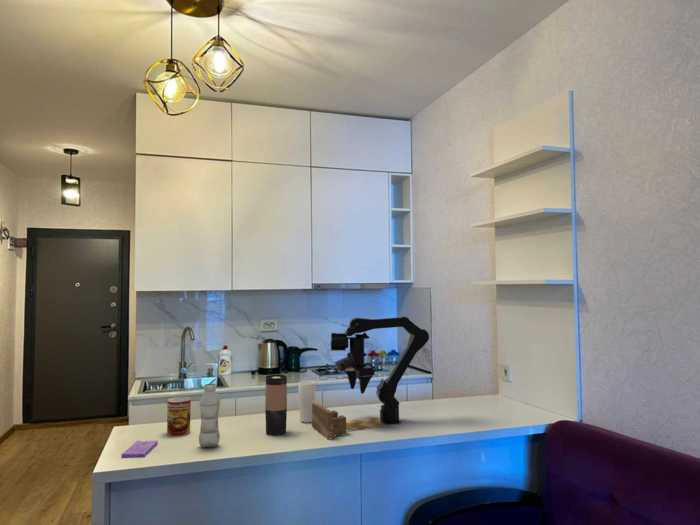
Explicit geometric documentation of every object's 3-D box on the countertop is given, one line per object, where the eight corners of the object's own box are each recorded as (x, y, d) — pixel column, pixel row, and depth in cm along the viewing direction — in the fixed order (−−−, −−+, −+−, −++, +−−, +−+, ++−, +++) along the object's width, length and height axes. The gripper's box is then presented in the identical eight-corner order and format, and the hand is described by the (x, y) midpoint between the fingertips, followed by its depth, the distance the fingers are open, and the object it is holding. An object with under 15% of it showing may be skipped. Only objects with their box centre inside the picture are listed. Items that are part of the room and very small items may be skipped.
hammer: (375, 423, 189) (374, 410, 189) (382, 428, 183) (382, 414, 183) (327, 429, 181) (327, 415, 181) (334, 434, 175) (334, 420, 175)
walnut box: (332, 425, 187) (332, 400, 187) (349, 436, 172) (348, 410, 173) (312, 427, 184) (312, 402, 184) (327, 439, 169) (327, 412, 170)
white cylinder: (313, 424, 188) (313, 384, 189) (296, 423, 190) (296, 383, 191) (317, 419, 195) (317, 381, 196) (301, 418, 196) (301, 380, 197)
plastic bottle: (200, 443, 165) (201, 383, 166) (221, 443, 166) (222, 382, 167) (196, 449, 159) (197, 386, 160) (218, 449, 159) (218, 386, 160)
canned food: (166, 437, 173) (166, 402, 173) (168, 431, 180) (168, 397, 181) (189, 435, 175) (190, 400, 175) (190, 429, 182) (191, 396, 183)
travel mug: (290, 430, 180) (290, 375, 181) (280, 436, 172) (280, 378, 173) (271, 428, 182) (271, 374, 183) (261, 434, 175) (261, 377, 176)
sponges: (157, 446, 164) (157, 440, 165) (144, 459, 152) (144, 452, 152) (136, 446, 164) (136, 440, 164) (121, 459, 151) (121, 453, 152)
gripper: (328, 348, 197) (329, 388, 196) (347, 354, 180) (347, 398, 179) (354, 347, 201) (354, 386, 200) (374, 352, 184) (375, 395, 183)
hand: (357, 391), depth 191 cm, fingers open, 9 cm apart
